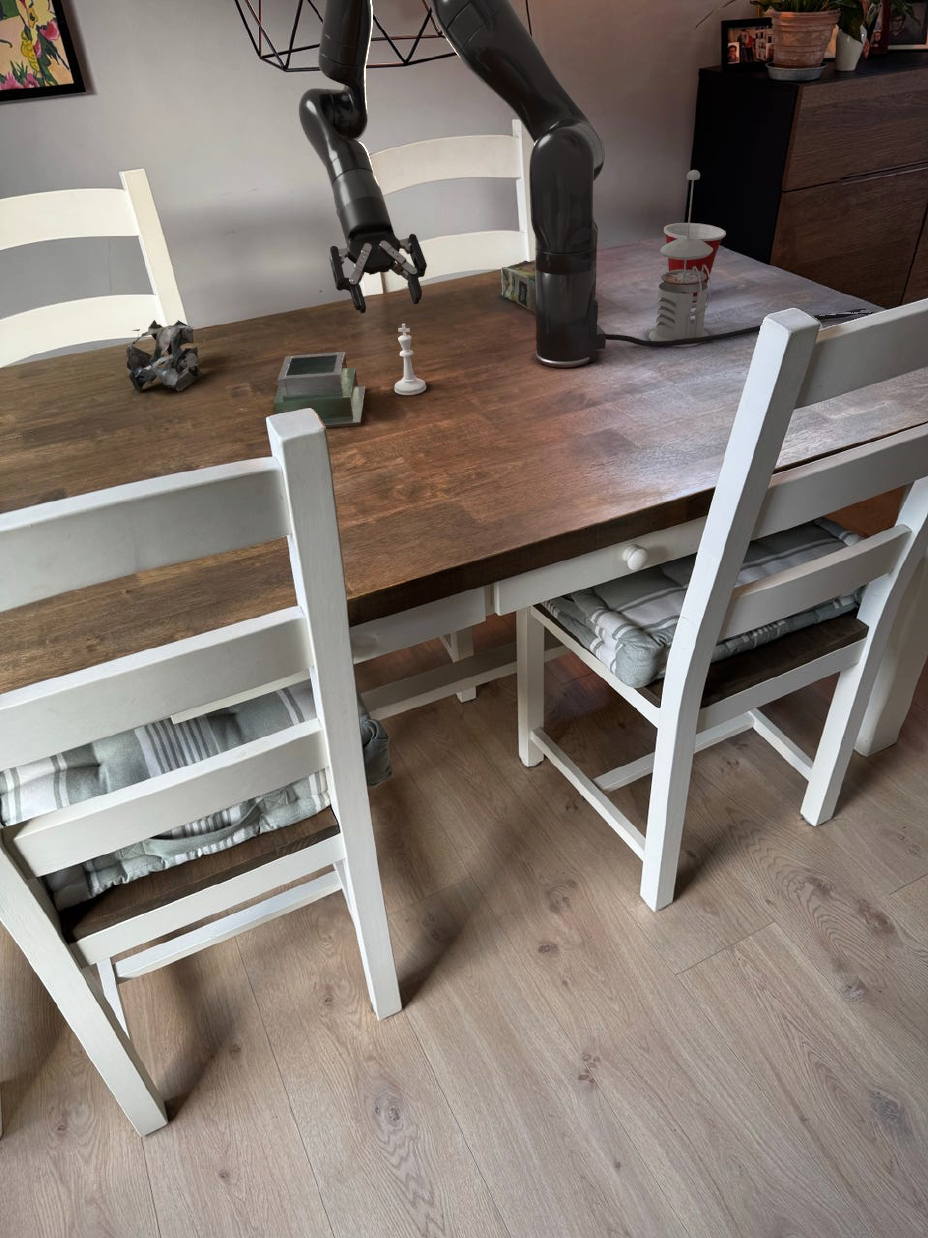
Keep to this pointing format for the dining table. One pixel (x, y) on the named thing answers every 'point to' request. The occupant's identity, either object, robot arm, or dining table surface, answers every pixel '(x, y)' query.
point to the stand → (321, 388)
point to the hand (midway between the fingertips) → (390, 306)
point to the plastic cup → (696, 231)
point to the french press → (683, 289)
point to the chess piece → (408, 368)
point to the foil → (165, 358)
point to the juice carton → (520, 284)
